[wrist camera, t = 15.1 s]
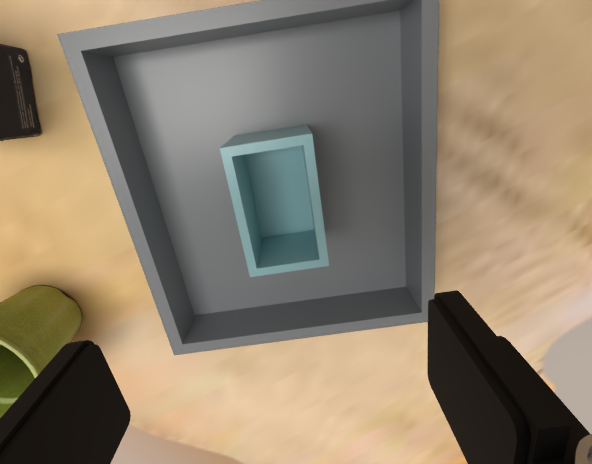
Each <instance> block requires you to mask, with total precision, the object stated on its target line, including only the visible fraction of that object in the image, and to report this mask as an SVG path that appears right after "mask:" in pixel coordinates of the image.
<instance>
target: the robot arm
mask: <svg viewBox="0 0 592 464" xmlns="http://www.w3.org/2000/svg"><path fill="white" fill-rule="evenodd" d="M428 379H429V382H430V385H431V388H432V390H433V392H434V394H435V396H436V398H437V400H438V402H439V404H440V406H441V409H442V411H443V413H444V415H445V417H446V419H447V421H448V423H449V425H450V427H451V429H452V431H453V434H454V436H455V438H456V440H457V442H458V444H459V446H460V448H461V450H462V452H463V454H464V456H465V459H466V461H467V463H468V464H592V434H590V433H589V432H588V431H587V430H586V429H585V427H584V426H583V425H582V424H581V423H580V422H579V421H578V419H577V418H576V417H575V416H574V415H573V414H572V413H571V412H570V410H569V409H568V408H567V407H566V406H565V405H564V404H563V402H562V401H561V400H560V399H559V398H558V397H557V396H556V394H555V393H554V392H553V391H552V390H551V389H550V387H549V386H548V385H547V384H546V383H545V382H544V381H543V379H542V378H541V377H540V376H539V375H538V374H537V373H536V371H535V370H534V369H533V368H532V367H531V366H530V365H529V363H528V362H527V361H526V360H525V359H524V358H523V357H522V356H521V354H520V353H519V352H518V351H517V350H516V349H515V348H514V346H513V345H512V344H511V343H510V342H509V341H508V340H507V339H506V338H504V337H502V336H496V335H495V333H494V332H493V331H492V330H491V329H490V328H489V326H488V325H487V324H486V323H485V322H484V320H483V319H482V318H481V317H480V316H479V314H478V313H477V312H476V311H475V310H474V309H473V307H472V306H471V305H470V304H469V303H468V301H467V300H466V299H465V298H464V297H463V296H462V294H461V293H460V292H459V291H450V292H442V293H436V294H435V296H434V299H431V300H429V301H428ZM129 422H130V410H129V408H128V406H127V404H126V402H125V400H124V397H123V395H122V393H121V391H120V389H119V387H118V385H117V383H116V381H115V378H114V376H113V374H112V372H111V370H110V368H109V366H108V364H107V362H106V360H105V357H104V355H103V353H102V351H101V349H100V347H99V346H98V345H95V344H94V343H93V342H92V341H89V340H86V341H79V342H71V343H67V344H65V345H64V346H63V347H62V348H61V349H60V351H59V352H58V353H57V354H56V355H55V356H54V357H53V359H52V360H51V361H50V362H49V363H48V364H47V365H46V367H45V368H44V369H43V370H42V371H41V372H40V373H39V375H38V376H37V377H36V378H35V379H34V380H33V381H32V383H31V384H30V385H29V386H28V387H27V388H26V389H25V391H24V392H23V393H22V394H21V395H20V396H19V397H18V399H17V400H16V401H15V402H14V403H13V404H12V405H11V407H10V408H9V409H8V410H7V411H6V412H5V413H4V415H3V416H2V417H1V418H0V464H110V463H111V461H112V459H113V457H114V454H115V452H116V450H117V448H118V446H119V444H120V442H121V440H122V438H123V436H124V434H125V431H126V429H127V427H128V425H129Z"/></svg>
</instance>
